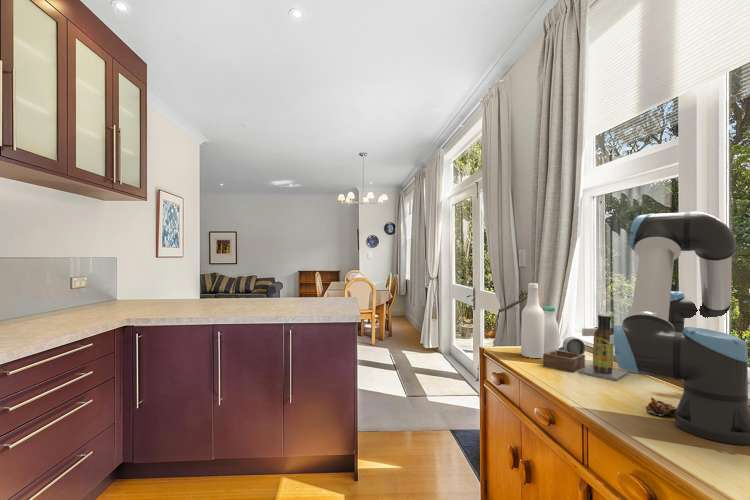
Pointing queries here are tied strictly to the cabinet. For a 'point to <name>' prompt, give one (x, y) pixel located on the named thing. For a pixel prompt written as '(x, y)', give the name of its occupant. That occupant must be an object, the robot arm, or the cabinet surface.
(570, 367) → the walnut collar
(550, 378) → the cabinet surface
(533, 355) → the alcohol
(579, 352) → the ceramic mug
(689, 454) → the cabinet surface
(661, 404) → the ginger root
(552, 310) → the milk bottle
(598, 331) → the sauce bottle
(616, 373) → the slate tile
